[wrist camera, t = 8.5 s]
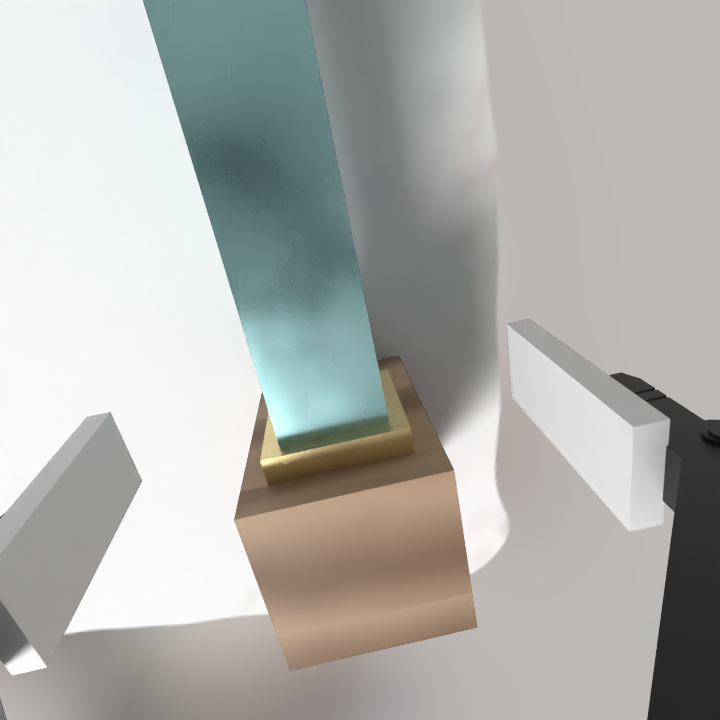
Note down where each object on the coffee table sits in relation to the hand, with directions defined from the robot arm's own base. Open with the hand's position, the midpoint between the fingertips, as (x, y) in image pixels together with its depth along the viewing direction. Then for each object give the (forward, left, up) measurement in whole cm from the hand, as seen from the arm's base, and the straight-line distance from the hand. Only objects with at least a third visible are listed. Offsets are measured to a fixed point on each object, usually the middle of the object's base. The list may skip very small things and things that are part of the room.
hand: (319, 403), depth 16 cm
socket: (+8, 0, -11) cm, 14 cm away
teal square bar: (-5, 0, -7) cm, 9 cm away
